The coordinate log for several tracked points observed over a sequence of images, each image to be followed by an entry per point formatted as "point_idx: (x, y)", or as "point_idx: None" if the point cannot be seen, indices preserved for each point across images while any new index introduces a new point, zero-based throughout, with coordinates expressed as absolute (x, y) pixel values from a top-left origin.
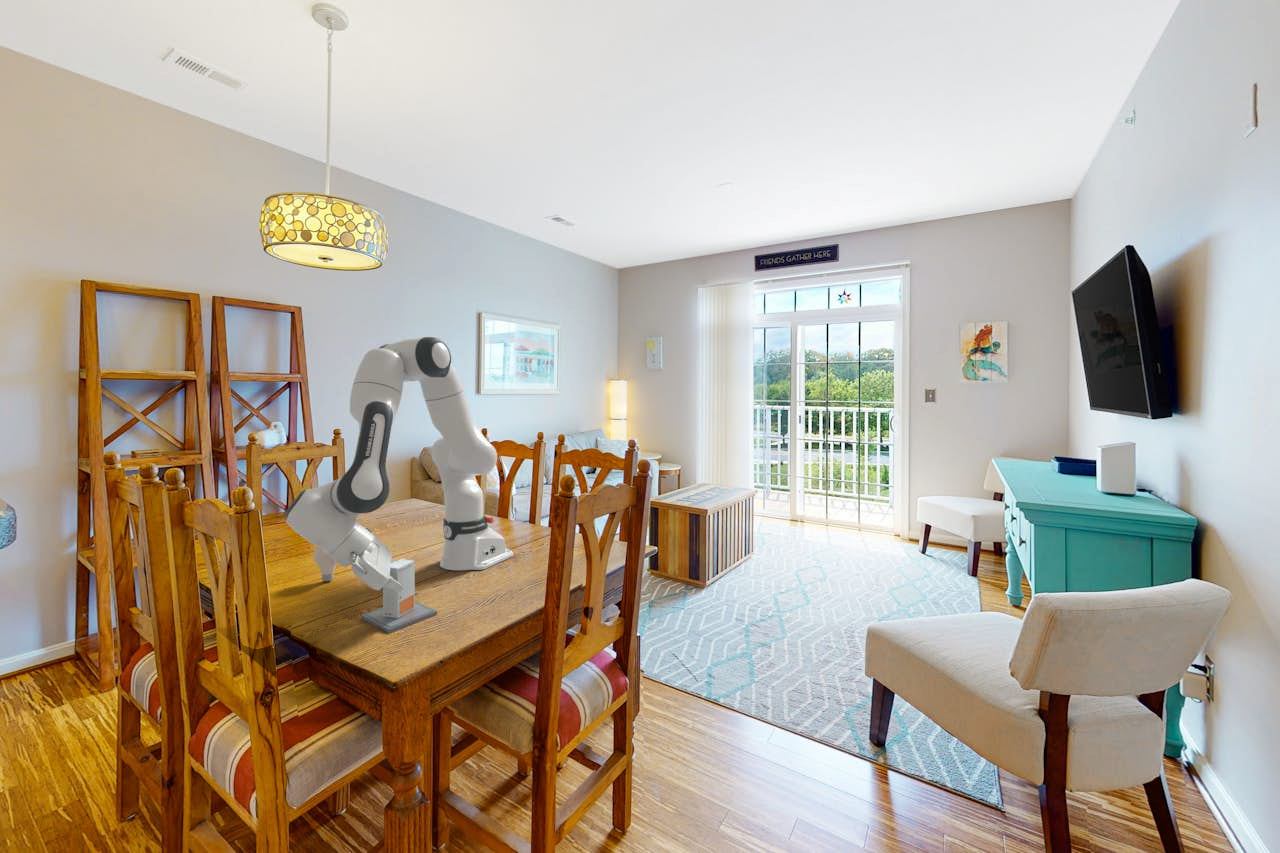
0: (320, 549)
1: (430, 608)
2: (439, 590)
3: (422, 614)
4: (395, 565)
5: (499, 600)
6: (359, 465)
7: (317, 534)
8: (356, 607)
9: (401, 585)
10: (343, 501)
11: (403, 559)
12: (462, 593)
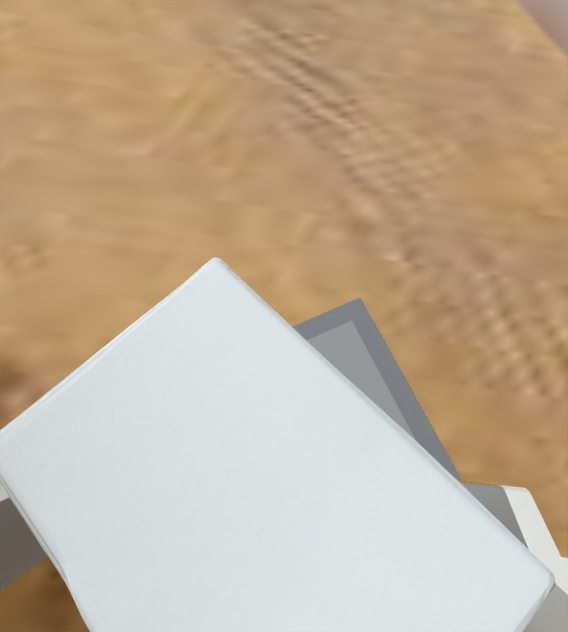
0: None
1: (305, 325)
2: (37, 251)
3: (380, 376)
4: (348, 601)
5: (325, 51)
6: None
7: None
8: None
9: (535, 510)
10: None
11: (55, 406)
12: (150, 163)
